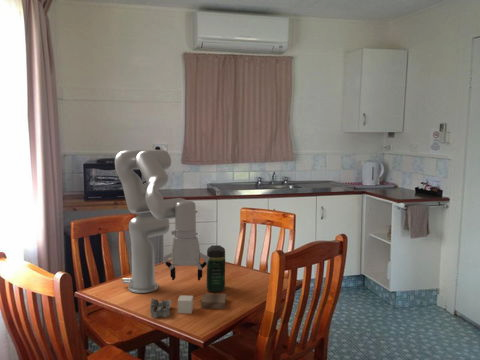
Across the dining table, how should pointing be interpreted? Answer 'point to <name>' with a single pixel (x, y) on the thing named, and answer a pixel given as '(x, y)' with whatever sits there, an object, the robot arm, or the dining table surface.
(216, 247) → the coffee jar
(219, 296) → the base
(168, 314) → the egg carton
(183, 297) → the cube
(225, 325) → the dining table surface
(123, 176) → the robot arm
